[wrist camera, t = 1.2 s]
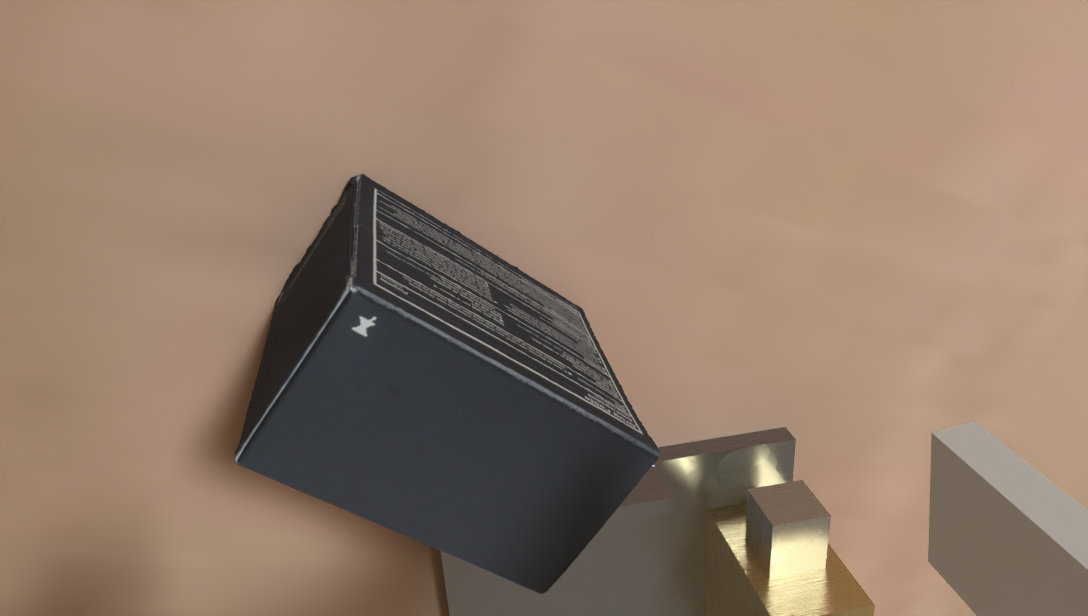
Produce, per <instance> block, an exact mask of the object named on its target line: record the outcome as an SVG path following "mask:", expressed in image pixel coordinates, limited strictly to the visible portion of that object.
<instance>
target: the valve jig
mask: <svg viewBox="0 0 1088 616" xmlns="http://www.w3.org/2000/svg"><path fill="white" fill-rule="evenodd" d="M795 441H796V439H795V438H794V437H793V436H792V434H791V433H790V432H789V431H788V430H787V429H786V427H785V428H779V429H773V430H767V431H760V432H754V433H748V434H742V435H735V436H729V437H723V438H717V439H710V440H704V441H698V442H692V443H685V444H679V445H673V446H667V447H661V448H658V450H659V452H660V458H659V459H658V460H657V462H656V463H655V464H654V465H653V466H652V468H651V469H650V470H649V471H648V472H647V474H646V475H645V476H644V477H643V478H642V480H641V481H640V482H639V483H638V485H637V486H636V487H635V488H634V489H633V491H632V492H631V493H630V494H629V495H628V497H627V498H626V499H625V500H624V502H623V503H622V504H621V505H620V506H619V507H618V509H617V510H616V511H615V512H614V514H613V515H612V516H611V517H610V518H609V519H608V520H607V522H606V523H605V524H604V526H603V527H602V528H601V529H600V531H599V532H598V533H597V534H596V535H595V536H594V537H593V539H592V540H591V541H590V542H589V543H588V545H587V546H586V547H585V549H584V550H583V551H582V552H581V553H580V554H579V556H578V557H577V558H576V559H575V561H574V562H573V563H572V564H571V565H570V566H569V567H568V569H567V570H566V571H565V572H564V573H563V575H562V576H561V577H560V578H559V579H558V580H557V581H556V582H555V583H554V584H553V586H552V587H551V588H550V589H549V590H548V591H547V592H546V593H544V594H539V593H536V592H534V591H532V590H529V589H527V588H524V587H522V586H520V585H518V584H516V583H514V582H511V581H509V580H507V579H504V578H502V577H500V576H497V575H495V574H493V573H490V572H488V571H486V570H484V569H481V568H479V567H477V566H474V565H472V564H470V563H467V562H465V561H463V560H460V559H458V558H456V557H454V556H451V555H449V554H447V553H444V552H442V551H440V552H441V559H442V566H443V573H444V580H445V587H446V594H447V601H448V608H449V615H450V616H873V614H874V607H875V605H874V603H873V602H872V601H871V599H870V598H869V597H868V595H867V594H866V593H865V591H864V590H863V589H862V587H861V586H860V585H859V584H858V582H857V581H856V580H855V578H854V577H853V576H852V574H851V573H850V572H849V570H848V569H847V568H846V566H845V565H844V564H843V562H842V561H841V560H840V558H839V557H838V556H837V554H836V553H835V552H834V550H833V549H832V548H831V547H830V545H829V544H828V538H829V528H830V518H831V515H830V514H829V513H828V512H827V510H826V509H825V508H824V507H823V505H822V504H821V503H820V502H819V500H818V499H817V498H816V497H815V495H814V494H813V493H812V492H811V490H810V489H809V488H808V487H807V485H806V484H805V483H804V482H803V480H799V481H794V482H792V481H793V468H794V455H795Z"/></svg>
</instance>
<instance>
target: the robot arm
mask: <svg viewBox="0 0 1088 616" xmlns="http://www.w3.org/2000/svg"><path fill="white" fill-rule="evenodd" d="M928 562H929V563H930V564H931V565H932V566H933V567H934V568H935V569H936V570H937V572H938V573H939V574H940V575H941V576H942V577H943V578H944V579H945V580H946V582H947V583H948V584H949V585H950V586H951V587H952V588H953V589H954V591H955V592H956V593H957V594H958V595H959V596H960V597H961V598H962V599H963V601H964V602H965V603H966V604H967V605H968V606H969V607H970V608H971V610H972V611H973V612H974V613H975V614H976V615H977V616H1088V510H1086V509H1085V508H1084V507H1083V506H1081V505H1080V504H1079V503H1077V502H1076V501H1075V500H1074V499H1073V498H1071V497H1070V496H1069V495H1068V494H1066V493H1065V492H1064V491H1062V490H1061V489H1060V488H1059V487H1057V486H1056V485H1055V484H1054V483H1052V482H1051V481H1050V480H1048V479H1047V478H1046V477H1045V476H1044V475H1042V474H1041V473H1040V472H1039V471H1037V470H1036V469H1035V468H1033V467H1032V466H1031V465H1030V464H1028V463H1027V462H1026V461H1025V460H1023V459H1022V458H1021V457H1020V456H1018V455H1017V454H1016V453H1015V452H1013V451H1012V450H1011V449H1010V448H1008V447H1007V446H1006V445H1005V444H1003V443H1002V442H1001V441H1000V440H998V439H997V438H996V437H995V436H993V435H992V434H991V433H989V432H988V431H987V430H986V429H984V428H983V427H982V426H981V425H979V424H978V423H977V422H976V421H973V422H969V423H966V424H962V425H958V426H954V427H951V428H947V429H943V430H940V431H936V432H932V440H931V477H930V514H929V551H928Z"/></svg>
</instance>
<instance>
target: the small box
mask: <svg viewBox="0 0 1088 616" xmlns="http://www.w3.org/2000/svg"><path fill="white" fill-rule="evenodd" d="M659 458H660V452H659V450H658V448H657V446H656V444H655V443H654V441H653V440H652V438H651V437H650V436H649V435H648V433H647V431H646V430H645V428H644V426H643V425H642V423H641V422H640V420H639V419H638V417H637V415H636V413H635V411H634V410H633V409H632V405H631V404H630V403H629V401H628V400H627V397H626V395H625V393H624V391H623V389H622V386H621V385H620V384H619V382H618V380H617V378H616V376H615V374H614V372H613V370H612V368H611V366H610V364H609V363H608V360H607V358H606V357H605V355H604V353H603V351H602V349H601V348H600V345H599V343H598V341H597V339H596V337H595V336H594V333H593V331H592V329H591V327H590V324H589V322H588V320H587V318H586V317H585V313H584V311H583V309H582V308H580V307H579V306H577V305H575V304H573V303H572V302H570V301H568V300H567V299H566V298H564V297H562V296H561V295H559V294H558V293H556V292H554V291H553V290H551V289H550V288H548V287H546V286H545V285H543V284H541V283H540V282H538V281H537V280H535V279H533V278H531V277H530V276H528V275H527V274H525V273H524V272H522V271H520V270H519V269H518V268H517V267H514V266H512V265H510V264H509V263H507V262H506V261H504V260H502V259H501V258H499V257H498V256H496V255H494V254H493V253H491V252H489V251H488V250H486V249H484V248H483V247H481V246H480V245H478V244H476V243H475V242H474V241H472V240H470V239H468V238H467V237H465V236H463V235H462V234H461V233H460V232H458V231H456V230H454V229H453V228H451V227H449V226H447V225H446V224H444V223H442V222H441V221H439V220H437V219H436V218H434V217H433V216H431V215H429V214H428V213H426V212H425V211H424V210H421V209H419V208H418V207H416V206H415V205H413V204H411V203H410V202H408V201H406V200H404V199H403V198H401V197H400V196H398V195H396V194H395V193H393V192H391V191H389V190H387V189H386V188H385V187H383V186H381V185H379V184H378V183H376V182H374V181H373V180H371V179H370V178H368V177H367V176H365V175H364V174H361V175H357V176H355V177H352V178H350V183H349V184H347V185H346V187H345V190H344V192H343V195H342V198H341V200H340V202H339V203H338V204H337V205H336V206H334V208H333V212H332V214H331V216H329V217H328V218H327V220H326V223H325V226H324V227H323V228H321V230H320V233H319V235H318V236H317V237H316V239H315V241H314V242H313V244H312V245H310V246H309V248H308V251H307V252H306V254H305V256H304V257H303V258H302V261H301V262H300V263H299V264H297V265H296V266H295V267H294V270H293V271H292V273H291V274H290V277H289V278H288V280H287V282H286V284H285V286H284V288H283V291H282V293H281V294H280V296H279V297H278V299H277V301H276V304H275V310H274V313H273V317H272V321H271V325H270V329H269V333H268V337H267V340H266V344H265V348H264V352H263V356H262V360H261V363H260V367H259V371H258V375H257V379H256V382H255V385H254V389H253V392H252V398H251V401H250V403H249V407H248V411H247V415H246V419H245V423H244V427H243V431H242V435H241V439H240V443H239V446H238V448H237V450H236V453H235V462H236V463H237V464H238V465H241V466H243V467H246V468H248V469H251V470H253V471H255V472H257V473H260V474H262V475H265V476H267V477H270V478H272V479H274V480H276V481H279V482H281V483H283V484H285V485H288V486H290V487H292V488H294V489H297V490H299V491H302V492H304V493H306V494H309V495H311V496H314V497H316V498H318V499H321V500H323V501H325V502H328V503H330V504H332V505H335V506H337V507H340V508H342V509H344V510H347V511H349V512H351V513H354V514H356V515H358V516H361V517H363V518H365V519H368V520H370V521H372V522H375V523H377V524H379V525H382V526H384V527H386V528H389V529H391V530H393V531H396V532H398V533H400V534H403V535H405V536H407V537H410V538H412V539H414V540H417V541H419V542H421V543H423V544H426V545H428V546H430V547H433V548H435V549H437V550H440V551H442V552H444V553H447V554H449V555H451V556H454V557H456V558H458V559H460V560H463V561H465V562H467V563H470V564H472V565H474V566H477V567H479V568H481V569H484V570H486V571H488V572H490V573H493V574H495V575H497V576H500V577H502V578H504V579H507V580H509V581H511V582H514V583H516V584H518V585H520V586H522V587H524V588H527V589H529V590H532V591H534V592H536V593H539V594H544V593H546V592H547V591H548V590H549V589H550V588H551V587H552V586H553V584H554V583H555V582H556V581H557V580H558V579H559V578H560V577H561V576H562V575H563V573H564V572H565V571H566V570H567V569H568V567H569V566H570V565H571V564H572V563H573V562H574V561H575V559H576V558H577V557H578V556H579V554H580V553H581V552H582V551H583V550H584V549H585V547H586V546H587V545H588V543H589V542H590V541H591V540H592V539H593V537H594V536H595V535H596V534H597V533H598V532H599V531H600V529H601V528H602V527H603V526H604V524H605V523H606V522H607V520H608V519H609V518H610V517H611V516H612V515H613V514H614V512H615V511H616V510H617V509H618V507H619V506H620V505H621V504H622V503H623V502H624V500H625V499H626V498H627V497H628V495H629V494H630V493H631V492H632V491H633V489H634V488H635V487H636V486H637V485H638V483H639V482H640V481H641V480H642V478H643V477H644V476H645V475H646V474H647V472H648V471H649V470H650V469H651V468H652V466H653V465H654V464H655V463H656V462H657V460H658V459H659Z"/></svg>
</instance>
